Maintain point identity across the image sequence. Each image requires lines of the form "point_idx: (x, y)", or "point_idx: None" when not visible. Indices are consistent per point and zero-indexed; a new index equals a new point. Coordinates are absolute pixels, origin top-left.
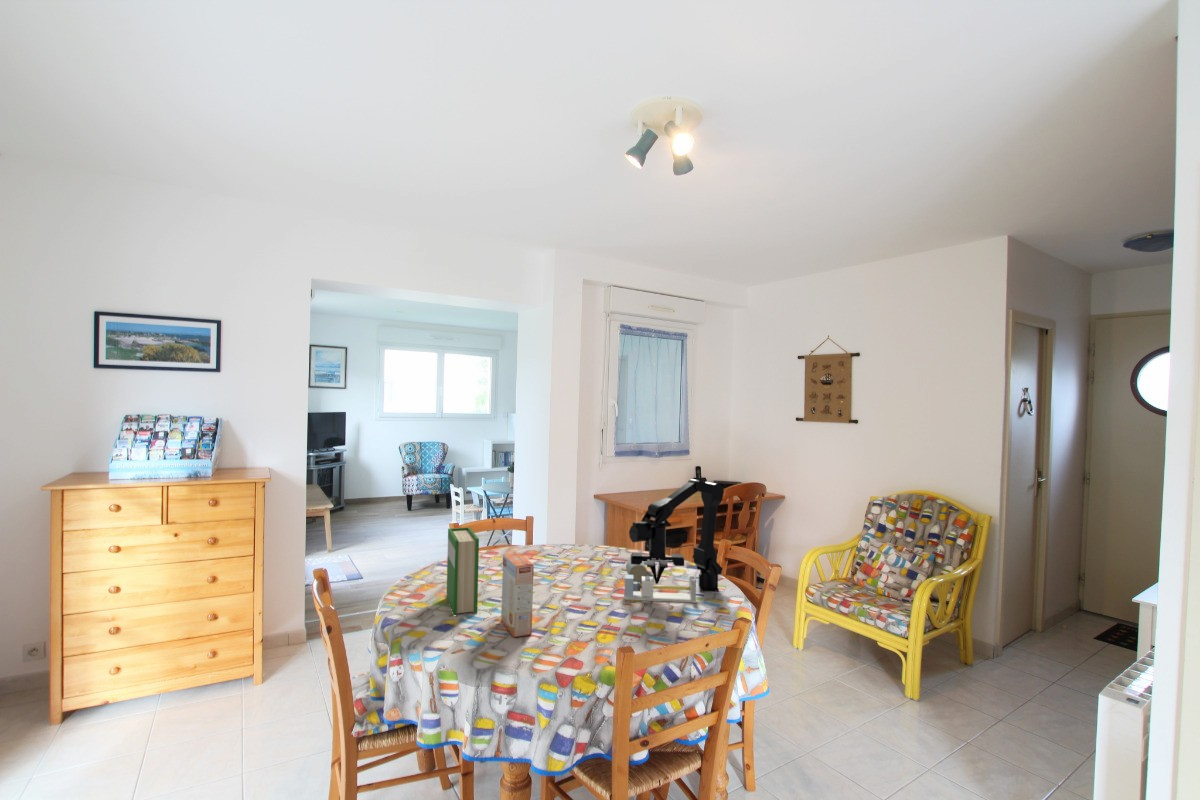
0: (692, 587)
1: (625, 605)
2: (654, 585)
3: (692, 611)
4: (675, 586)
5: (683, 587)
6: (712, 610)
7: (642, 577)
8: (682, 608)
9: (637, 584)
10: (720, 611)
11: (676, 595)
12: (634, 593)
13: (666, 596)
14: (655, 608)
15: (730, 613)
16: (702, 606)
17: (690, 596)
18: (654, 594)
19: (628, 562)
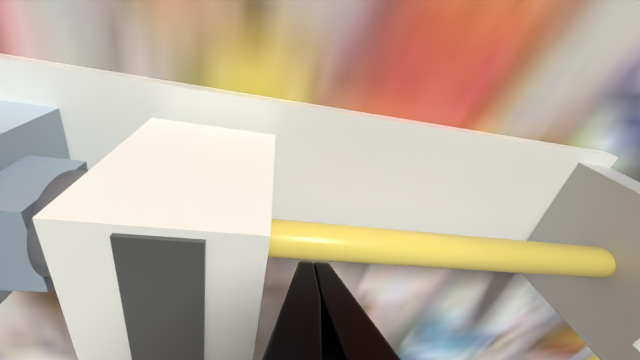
0: (591, 340)
1: (56, 312)
2: (282, 250)
3: (436, 349)
4: (491, 268)
5: (550, 274)
6: (532, 336)
7: (66, 275)
8: (405, 327)
9: (50, 287)
10: (557, 341)
11: (465, 189)
12: (81, 133)
13: (378, 207)
14: (257, 335)
15: (579, 353)
16: (521, 303)
17: (539, 241)
18: (289, 164)
19: None
